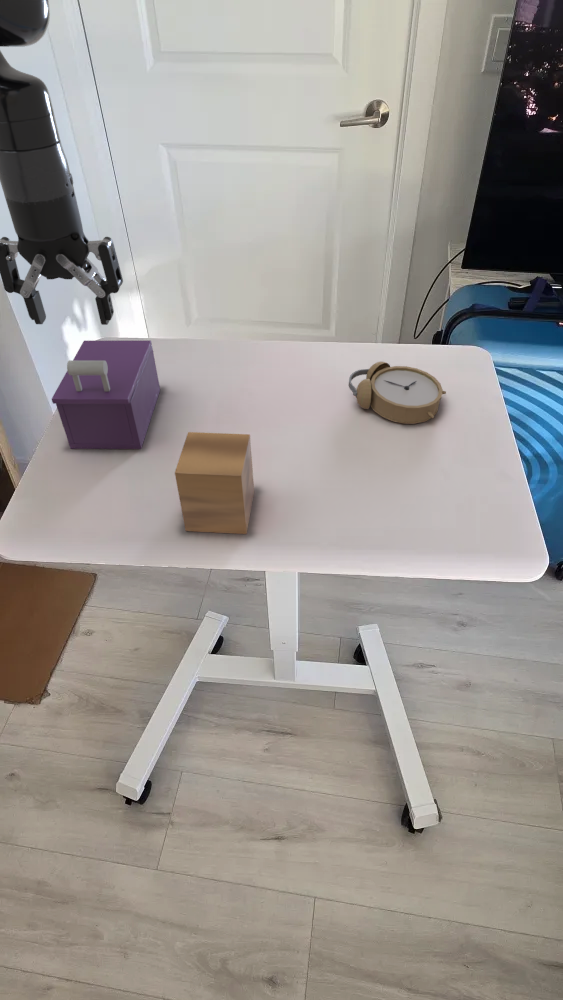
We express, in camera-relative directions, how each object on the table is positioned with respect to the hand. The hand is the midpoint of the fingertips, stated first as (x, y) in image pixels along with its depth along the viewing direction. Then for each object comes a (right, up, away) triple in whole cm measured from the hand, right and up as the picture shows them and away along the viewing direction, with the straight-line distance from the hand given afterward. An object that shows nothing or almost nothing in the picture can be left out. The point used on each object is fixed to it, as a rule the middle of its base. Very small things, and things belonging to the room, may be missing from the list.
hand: (73, 321), depth 81 cm
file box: (+1, -10, +18) cm, 21 cm away
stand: (+19, -25, +2) cm, 31 cm away
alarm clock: (+45, -7, +20) cm, 50 cm away
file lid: (+1, -4, +12) cm, 13 cm away
